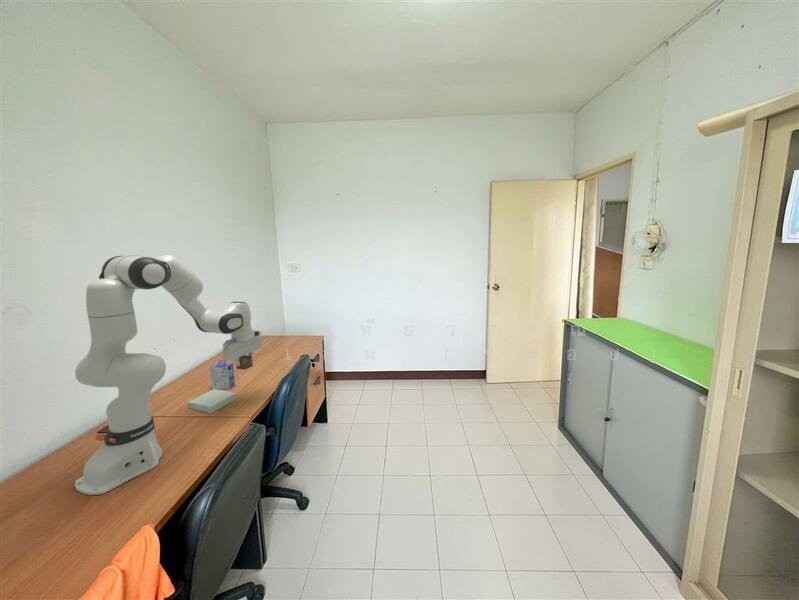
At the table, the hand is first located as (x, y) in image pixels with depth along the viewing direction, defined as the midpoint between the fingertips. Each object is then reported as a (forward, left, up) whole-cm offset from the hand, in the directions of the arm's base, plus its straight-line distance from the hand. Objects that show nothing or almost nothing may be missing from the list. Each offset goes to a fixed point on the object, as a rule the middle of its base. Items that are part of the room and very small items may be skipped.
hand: (244, 363), depth 149 cm
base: (-8, +13, -19) cm, 24 cm away
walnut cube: (0, 0, -2) cm, 2 cm away
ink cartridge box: (+7, +23, -19) cm, 31 cm away
